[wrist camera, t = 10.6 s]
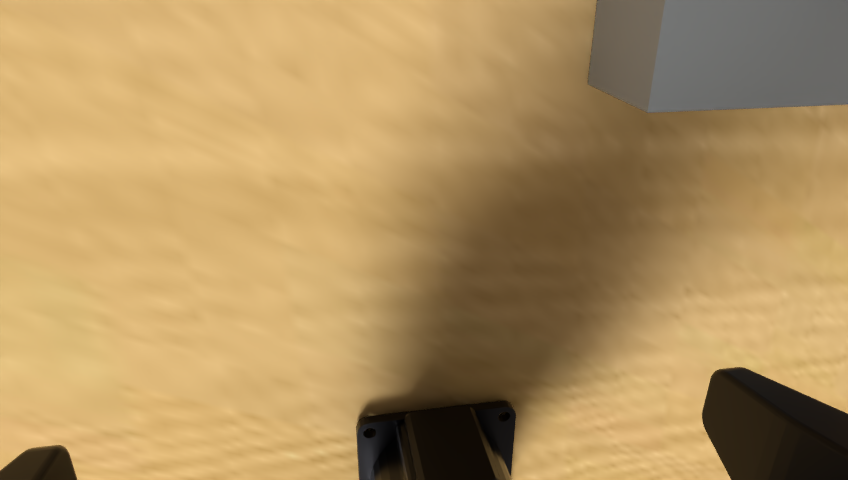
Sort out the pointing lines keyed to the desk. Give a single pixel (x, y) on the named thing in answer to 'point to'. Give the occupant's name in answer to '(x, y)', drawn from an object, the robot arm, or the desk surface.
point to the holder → (721, 53)
